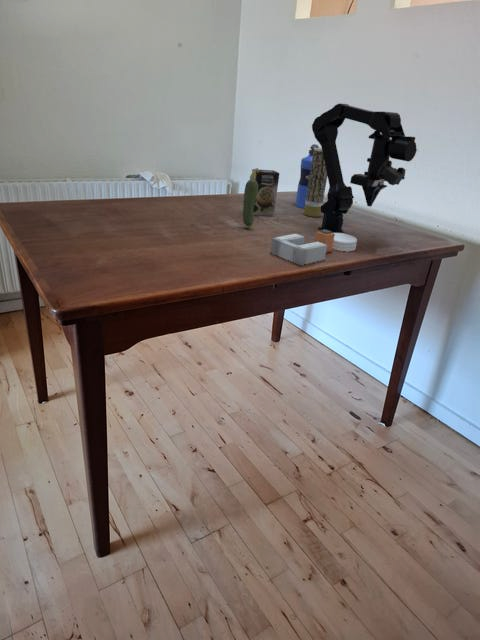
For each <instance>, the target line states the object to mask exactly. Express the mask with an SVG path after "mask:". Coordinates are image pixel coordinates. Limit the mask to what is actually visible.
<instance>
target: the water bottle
mask: <svg viewBox="0 0 480 640" xmlns="http://www.w3.org/2000/svg"><path fill="white" fill-rule="evenodd" d="M314 148H320V147H319V145H318V144H315V143H314V144H312V145H310V149H308V155H307V156H305V157H303V158H301V161H300V177H299V181H298V184H297V191H296V197H295V204H294V206H296V207H297V208H301V209H304V208H305V201H306V195H307V189H308V182H309V176H310V169H311V163H312V157H313V150H314Z"/></svg>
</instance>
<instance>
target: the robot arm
mask: <svg viewBox="0 0 480 640" xmlns="http://www.w3.org/2000/svg"><path fill="white" fill-rule="evenodd" d="M345 120H350V121H354V122H358V123H361V124H364V125H367V126H369V128H370V129H372V130H373V131H374V132H373V133H371V134H370V135H368V139H371V140H373V144H372V148H371V149H372V150H371V154H370V157H367V159H366V162H367V163H368V167H367V171H364V172H363V173H364V174H363V173H355V174H353V175H352V176H350V184H352V185H356V186H361V187H362V190H363V194H364V198H365V203H366V206H367V207H369V208H370V207H372V206H373V205H374V202H375V201H376V199H377V197H378V195H379V193H380V192H381V191H382V190H384V189H386V188H387V187H388V185H386V184H385V182H386V183H387V184H389V185H391V186H395V185H397V186H398V185H400V182H401V181H403V180H405V178H406V177H405V175H406V169H405V168H404V167H398V168H396V167H394V166H392V165H393V162H392V160H390V159H393V160H399V161H404V162H407V163H408V162H411V161H413V159H414V157H416V156H415V155H416V154H417V150H418V149H417V143H416V142H415V140H416V137H415V136H409V135H408V136H406V134H405V132H404V129H403V125H402V118H401V115H400V114H399V113H398V112H391V111H373V110H368V109H364V108H361V107H357V106H353V105H349V104H347V103H337V104H335V105H334V106H333V107H332V108H330V109H329V110H327V111H325V112H323V113H321V114H320V115H319V116H316V118H315V119H314V120H313V122H312V124H311V129H312V130H311V131H312V133H313V136H314V138H315V140H316V141H317V142H318V144H319V145H320V148H322V152H323V157H324V162H325V167H326V171H327V180H328V185H329V186H328V187H329V188H328V191H327V197H326V198H327V201H326V202H323V205H322V206H321V214H323V215H322V216H323V217H322V222H321V226H319V227H318V228H317V229H318V230H325V229H326V230H329V231H332V232H331V233H342V232H344V230H343V229H342V228H343V224H344V219H343V217H344V215H346V214H348V211H349V210H350V209H351V207H352V205H353V203H354V199H355V197H354V194H353V188H352V186H347V185H346V184H345V182H344V177H343V171H342V168H341V163H340V157H339V152H338V148H337V143H336V142H337V138H338V134H339V130H338V129H339V128H340V127H341V126H342V125H343V124H344V122H345Z"/></svg>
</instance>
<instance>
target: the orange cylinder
mask: <svg viewBox="0 0 480 640" xmlns="http://www.w3.org/2000/svg"><path fill="white" fill-rule="evenodd" d="M331 232H332V231H329V230H326V229H325V230H321V229H319V231H316V232H315V238H314V242H320V243H323V244H325V245H327V248H326V253H329V252H332V251H333V250H332V246H333V241H334V236H335V234H334V233H331Z"/></svg>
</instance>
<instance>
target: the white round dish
mask: <svg viewBox="0 0 480 640" xmlns="http://www.w3.org/2000/svg"><path fill="white" fill-rule="evenodd" d="M334 234H335V236H334V241H333V246H332V249H333V250H332V251H336V250H337V251H338V252H343V251H345V252H346V253H347V252H348V253H349V252H350V251H351V252H354V251H355V250H356V249H357V247H356V246H357V243H358V239H357V238H356V237H355V236H353V235H351V234H346V233H342V232H337V233H334ZM337 251H336V252H337ZM345 252H344V253H345Z"/></svg>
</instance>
